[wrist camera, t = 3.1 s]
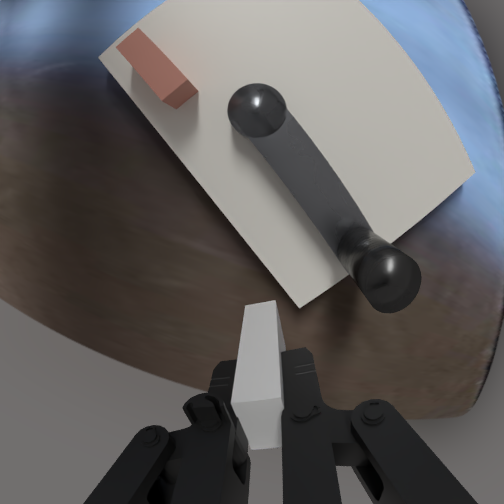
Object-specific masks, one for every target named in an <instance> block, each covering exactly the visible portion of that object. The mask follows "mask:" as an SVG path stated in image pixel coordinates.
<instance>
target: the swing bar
mask: <svg viewBox="0 0 504 504" xmlns="http://www.w3.org/2000/svg"><path fill="white" fill-rule="evenodd" d="M227 113H228V118H229V121H230V123H231V125H232V126H233V127H234V129H235V130H236V131H237V132H238V133H239V134H240V135H242V136H243V137H245V138H248V139H249V140H250V141H251V142H252V143H253V145H254V146H255V147H256V148H257V150H258V151H259V152H260V153H261V155H262V156H263V157H264V158H265V160H266V161H267V162H268V164H269V165H270V166H271V167H272V169H273V170H274V171H275V173H276V174H277V175H278V177H279V178H280V179H281V180H282V182H283V183H284V184H285V186H286V187H287V188H288V190H289V191H290V192H291V194H292V195H293V196H294V198H295V199H296V200H297V202H298V203H299V205H300V206H301V207H302V209H303V210H304V211H305V213H306V214H307V216H308V217H309V218H310V220H311V221H312V223H313V224H314V225H315V227H316V228H317V230H318V231H319V232H320V234H321V235H322V237H323V238H324V240H325V241H326V242H327V244H328V245H329V247H330V248H331V250H332V251H333V253H334V254H335V256H336V257H337V259H338V260H339V262H340V263H341V265H342V266H343V267H344V269H345V270H346V272H347V273H349V274H350V276H351V277H352V279H353V280H354V281H355V283H356V284H357V286H358V287H359V288H360V290H361V291H362V293H363V294H364V295H365V297H366V298H367V300H368V301H369V302H370V304H371V305H372V307H373V308H374V309H376V310H377V311H379V312H382V313H394V312H398V311H400V310H402V309H404V308H405V307H407V306H408V305H409V304H410V303H411V302H412V301H413V300H414V298H415V297H416V295H417V293H418V291H419V288H420V285H421V272H420V268H419V266H418V264H417V263H416V262H415V261H414V260H413V259H412V258H410V257H409V256H408V255H406V254H405V253H403V252H402V251H400V250H399V249H398V248H396V247H395V246H393V245H392V244H390V243H389V242H387V241H386V240H384V239H383V238H381V237H380V236H378V235H377V234H375V233H374V232H373V230H372V228H371V227H370V225H369V223H368V222H367V220H366V219H365V217H364V215H363V214H362V212H361V210H360V209H359V207H358V206H357V204H356V203H355V201H354V200H353V198H352V196H351V195H350V193H349V192H348V190H347V189H346V187H345V186H344V184H343V183H342V181H341V180H340V178H339V177H338V176H337V174H336V173H335V171H334V170H333V168H332V167H331V166H330V164H329V163H328V161H327V160H326V159H325V157H324V156H323V154H322V153H321V152H320V150H319V149H318V148H317V146H316V145H315V144H314V142H313V141H312V140H311V138H310V137H309V136H308V134H307V133H306V132H305V131H304V129H303V128H302V127H301V125H300V124H299V123H298V122H297V120H296V119H295V118H294V117H293V115H292V114H291V113H290V112H289V110H288V109H287V107H286V103H285V100H284V98H283V96H282V95H281V94H280V93H279V92H278V91H277V90H276V89H275V88H273V87H271V86H269V85H266V84H261V83H253V84H248V85H245V86H243V87H241V88H240V89H238V90H237V91H236V92H235V93H234V94H233V95H232V97H231V98H230V100H229V103H228V108H227Z"/></svg>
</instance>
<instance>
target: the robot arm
mask: <svg viewBox="0 0 504 504" xmlns="http://www.w3.org/2000/svg"><path fill="white" fill-rule="evenodd" d="M211 379H212V380H211V382H210V387H209V390H208V393H202V394H198V395H196V396H194V397H192V398H190V399H189V400H188V401H187V402H186V403H185V404H184V406H183V410H184V412H185V414H186V415H187V417H188V419H189V420H190V422H191V424H192V425H191V426H190V427H188V428H185V429H181V430H177V431H173V432H168V431H167V430H166V429H165V428H164V427H161V426H156V425H152V426H148V427H145V428H143V429H141V430H140V431H139V432H138V433H137V434H136V435H135V436H134V438H133V439H132V440H131V442H130V443H129V444H128V446H127V447H126V448H125V450H124V451H123V453H122V454H121V455H120V456H119V458H118V459H117V460H116V462H115V463H114V464H113V466H112V467H111V468H110V470H109V471H108V472H107V473H106V475H105V476H104V477H103V479H102V480H101V481H100V483H99V484H98V485H97V487H96V488H95V489H94V490H93V492H92V493H91V494H90V496H89V497H88V498H87V500H86V501H85V502H84V504H248V494H249V479H250V464H251V462H250V458H249V456H248V453H247V452H248V444H249V446H250V448H251V450H258V449H269V448H278V447H282V466H283V504H342V502H341V496H340V490H339V484H338V478H337V471H336V466H351V467H352V468H353V470H354V472H355V474H356V475H357V477H358V479H359V481H360V482H361V484H362V485H363V487H364V489H365V491H366V492H367V494H368V496H369V497H370V499H371V501H372V502H373V504H478V503H477V502H476V501H475V500H474V499H473V498H472V496H471V495H470V494H469V493H468V492H467V491H466V489H465V488H464V487H463V486H462V485H461V484H460V483H459V481H458V480H457V479H456V478H455V477H454V476H453V475H452V473H451V472H450V471H449V470H448V469H447V467H446V466H445V465H444V464H443V463H442V462H441V461H440V459H439V458H438V457H437V456H436V455H435V454H434V452H433V451H432V450H431V449H430V448H429V447H428V446H427V444H426V443H425V442H424V441H423V440H422V439H421V438H420V436H419V435H418V434H417V433H416V432H415V431H414V430H413V428H412V427H411V426H410V425H409V424H408V423H407V421H406V420H405V419H404V418H403V417H402V416H401V415H400V413H399V412H398V411H397V410H396V409H395V408H394V407H393V405H391V404H390V403H388V402H387V401H384V400H380V399H372V400H368V401H365V402H362V403H361V404H359V405H358V406H356V408H355V409H354V410H336V409H333V408H331V407H329V406H327V405H326V404H325V403H324V402H323V400H322V397H321V393H320V388H319V383H318V378H317V374H316V369H315V364H314V360H313V355H312V353H311V352H310V351H309V350H308V349H307V348H306V347H305V348H299V349H294V350H289V351H286V349H285V342H284V337H283V333H282V328H281V323H280V318H279V314H278V309H277V304H276V300H274V301H268V302H263V303H257V304H252V305H246V306H245V312H244V318H243V325H242V332H241V338H240V345H239V352H238V358H237V360H229V361H221V362H220V363H219V364H218V365H217V366H216V367H215V369H214V370H213V374H212V378H211Z"/></svg>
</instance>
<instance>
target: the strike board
mask: <svg viewBox="0 0 504 504" xmlns="http://www.w3.org/2000/svg"><path fill="white" fill-rule="evenodd" d="M98 58H99V59H100V60H101V62H102V63H103V64H104V65H105V67H106V68H107V69H108V70H109V72H110V73H111V74H112V75H113V77H114V78H115V79H116V80H117V82H118V83H119V84H120V85H121V87H122V88H123V89H124V90H125V91H126V93H127V94H128V95H129V96H130V98H131V99H132V100H133V101H134V103H135V104H136V105H137V106H138V108H139V109H140V110H141V111H142V113H143V114H144V115H145V116H146V118H147V119H148V120H149V121H150V123H151V124H152V125H153V126H154V128H155V129H156V130H157V131H158V133H159V134H160V135H161V136H162V138H163V139H164V140H165V141H166V142H167V144H168V145H169V146H170V147H171V149H172V150H173V151H174V152H175V154H176V155H177V156H178V157H179V159H180V160H181V161H182V162H183V164H184V165H185V166H186V167H187V169H188V170H189V171H190V172H191V174H192V175H193V176H194V177H195V179H196V180H197V181H198V182H199V184H200V185H201V186H202V187H203V189H204V190H205V191H206V192H207V194H208V195H209V196H210V197H211V199H212V200H213V201H214V202H215V204H216V205H217V206H218V207H219V209H220V210H221V211H222V212H223V214H224V215H225V216H226V217H227V219H228V220H229V221H230V222H231V224H232V225H233V226H234V227H235V229H236V230H237V231H238V232H239V234H240V235H241V236H242V237H243V239H244V240H245V241H246V242H247V244H248V245H249V246H250V247H251V249H252V250H253V251H254V252H255V254H256V255H257V256H258V257H259V259H260V260H261V261H262V262H263V264H264V265H265V266H266V267H267V269H268V270H269V271H270V272H271V274H272V275H273V276H274V277H275V279H276V280H277V281H278V282H279V284H280V285H281V286H282V287H283V289H284V290H285V291H286V292H287V294H288V295H289V296H290V297H291V299H292V300H293V301H294V302H295V304H296V305H297V306H298V307H299V308H301V307H302V306H304V305H305V304H307V303H308V302H310V301H311V300H313V299H314V298H316V297H317V296H319V295H320V294H322V293H323V292H325V291H326V290H327V289H329V288H330V287H332V286H333V285H335V284H336V283H338V282H339V281H340V280H342V279H343V278H345V277H346V276H347V275H349V273H347V272H346V270H345V269H344V267H343V266H342V265H341V263H340V262H339V260H338V259H337V257H336V256H335V254H334V253H333V251H332V250H331V248H330V247H329V245H328V244H327V242H326V241H325V240H324V238H323V237H322V235H321V234H320V232H319V231H318V230H317V228H316V227H315V225H314V224H313V223H312V221H311V220H310V218H309V217H308V216H307V214H306V213H305V211H304V210H303V209H302V207H301V206H300V205H299V203H298V202H297V200H296V199H295V198H294V196H293V195H292V194H291V192H290V191H289V190H288V188H287V187H286V186H285V184H284V183H283V182H282V180H281V179H280V178H279V177H278V175H277V174H276V173H275V171H274V170H273V169H272V167H271V166H270V165H269V164H268V162H267V161H266V160H265V158H264V157H263V156H262V155H261V153H260V152H259V151H258V150H257V148H256V147H255V146H254V145H253V143H252V142H251V141H250V140H249V139H248V138H245V137H243V136H242V135H240V134H239V133H238V132H237V131H236V130H235V129H234V127H233V126H232V125H231V123H230V121H229V118H228V113H227V108H228V103H229V100H230V98H231V97H232V95H233V94H234V93H235V92H236V91H237V90H238V89H240V88H241V87H243V86H245V85H248V84H253V83H261V84H266V85H269V86H271V87H273V88H275V89H276V90H277V91H278V92H279V93H280V94H281V95H282V96H283V98H284V100H285V103H286V107H287V109H288V110H289V112H290V113H291V114H292V115H293V117H294V118H295V119H296V120H297V122H298V123H299V124H300V125H301V127H302V128H303V129H304V131H305V132H306V133H307V134H308V136H309V137H310V138H311V140H312V141H313V142H314V144H315V145H316V146H317V148H318V149H319V150H320V152H321V153H322V154H323V156H324V157H325V159H326V160H327V161H328V163H329V164H330V166H331V167H332V168H333V170H334V171H335V173H336V174H337V176H338V177H339V178H340V180H341V181H342V183H343V184H344V186H345V187H346V189H347V190H348V192H349V193H350V195H351V196H352V198H353V200H354V201H355V203H356V204H357V206H358V207H359V209H360V210H361V212H362V214H363V215H364V217H365V219H366V220H367V222H368V223H369V225H370V227H371V228H372V230H373V232H374V233H375V234H377V235H378V236H380V237H381V238H383V239H384V240H386V241H387V242H389V243H390V244H391V243H392V242H393V241H395V240H396V239H397V238H398V237H400V236H401V235H402V234H403V233H405V232H406V231H407V230H409V229H410V228H411V227H412V226H413V225H415V224H416V223H417V222H418V221H420V220H421V219H422V218H423V217H425V216H426V215H427V214H428V213H429V212H431V211H432V210H433V209H434V208H435V207H437V206H438V205H439V204H440V203H441V202H442V201H444V200H445V199H446V198H447V197H448V196H449V195H450V194H452V193H453V192H454V191H455V190H456V189H457V188H458V187H460V186H461V185H462V184H463V183H464V182H465V181H466V180H467V179H468V178H469V177H471V176H472V175H473V174H474V173H475V170H474V168H473V165H472V163H471V161H470V159H469V156H468V154H467V152H466V150H465V148H464V146H463V144H462V142H461V140H460V138H459V136H458V134H457V132H456V130H455V128H454V126H453V124H452V122H451V121H450V119H449V117H448V115H447V113H446V112H445V110H444V108H443V107H442V105H441V103H440V102H439V100H438V98H437V97H436V95H435V93H434V92H433V90H432V89H431V87H430V86H429V84H428V83H427V81H426V80H425V78H424V77H423V75H422V74H421V72H420V71H419V70H418V68H417V67H416V65H415V64H414V63H413V61H412V60H411V59H410V57H409V56H408V55H407V53H406V52H405V51H404V50H403V48H402V47H401V46H400V45H399V43H398V42H397V41H396V40H395V39H394V37H393V36H392V35H391V34H390V33H389V32H388V30H387V29H386V28H385V27H384V26H383V25H382V24H381V23H380V21H379V20H378V19H377V18H376V17H375V16H374V15H373V14H372V13H371V12H370V11H369V10H368V9H367V8H366V7H365V6H364V5H363V4H362V3H361V2H360V1H359V0H166V1H165V2H163V3H162V4H161V5H159V6H158V7H156V8H155V9H154V10H152V11H151V12H150V13H148V14H147V15H146V16H145V17H143V18H142V19H141V20H139V21H138V22H137V23H136V24H135V25H133V26H132V27H131V28H130V29H129V30H127V31H126V32H125V33H124V34H123V35H122V36H120V37H119V38H118V39H117V40H116V41H115V42H114V43H113V44H112V45H111V46H110V47H108V48H107V49H106V50H105V51H104V52H103V53H102V54H101V55H100V56H99V57H98Z"/></svg>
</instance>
